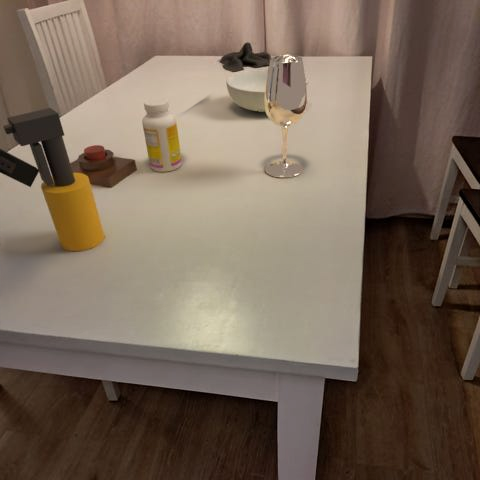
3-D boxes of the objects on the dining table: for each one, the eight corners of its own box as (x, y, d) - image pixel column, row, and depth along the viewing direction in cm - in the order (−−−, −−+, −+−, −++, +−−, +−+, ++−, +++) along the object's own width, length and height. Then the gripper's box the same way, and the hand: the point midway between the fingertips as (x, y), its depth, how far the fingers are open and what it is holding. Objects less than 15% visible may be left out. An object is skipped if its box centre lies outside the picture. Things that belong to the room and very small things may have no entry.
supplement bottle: (181, 158, 100) (172, 94, 92) (183, 171, 95) (174, 104, 87) (149, 162, 99) (138, 98, 91) (150, 174, 94) (138, 108, 86)
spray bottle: (57, 261, 72) (9, 129, 59) (43, 242, 76) (-5, 115, 63) (111, 241, 76) (77, 113, 62) (94, 224, 80) (59, 101, 67)
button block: (63, 179, 95) (57, 160, 92) (90, 162, 101) (85, 144, 98) (111, 188, 91) (106, 168, 88) (137, 169, 97) (133, 150, 94)
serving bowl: (248, 126, 113) (247, 95, 109) (216, 103, 128) (214, 76, 123) (321, 111, 119) (323, 82, 115) (283, 91, 134) (283, 64, 129)
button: (81, 160, 93) (79, 151, 91) (94, 152, 95) (92, 144, 94) (98, 162, 91) (95, 153, 90) (110, 155, 94) (108, 146, 93)
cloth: (221, 56, 169) (220, 37, 165) (272, 54, 168) (272, 35, 164) (215, 72, 153) (213, 51, 149) (272, 70, 151) (272, 49, 147)
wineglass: (307, 176, 90) (313, 62, 77) (267, 179, 90) (266, 65, 77) (300, 160, 96) (304, 51, 83) (262, 163, 96) (261, 54, 83)
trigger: (47, 185, 67) (34, 146, 64) (41, 179, 69) (28, 141, 65) (54, 183, 68) (41, 144, 64) (48, 178, 69) (35, 139, 66)
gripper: (-192, 90, 54) (8, 185, 71) (-192, 117, 45) (35, 216, 63) (-167, 30, 52) (31, 141, 70) (-162, 46, 44) (61, 168, 62)
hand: (33, 177), depth 67 cm, fingers closed
